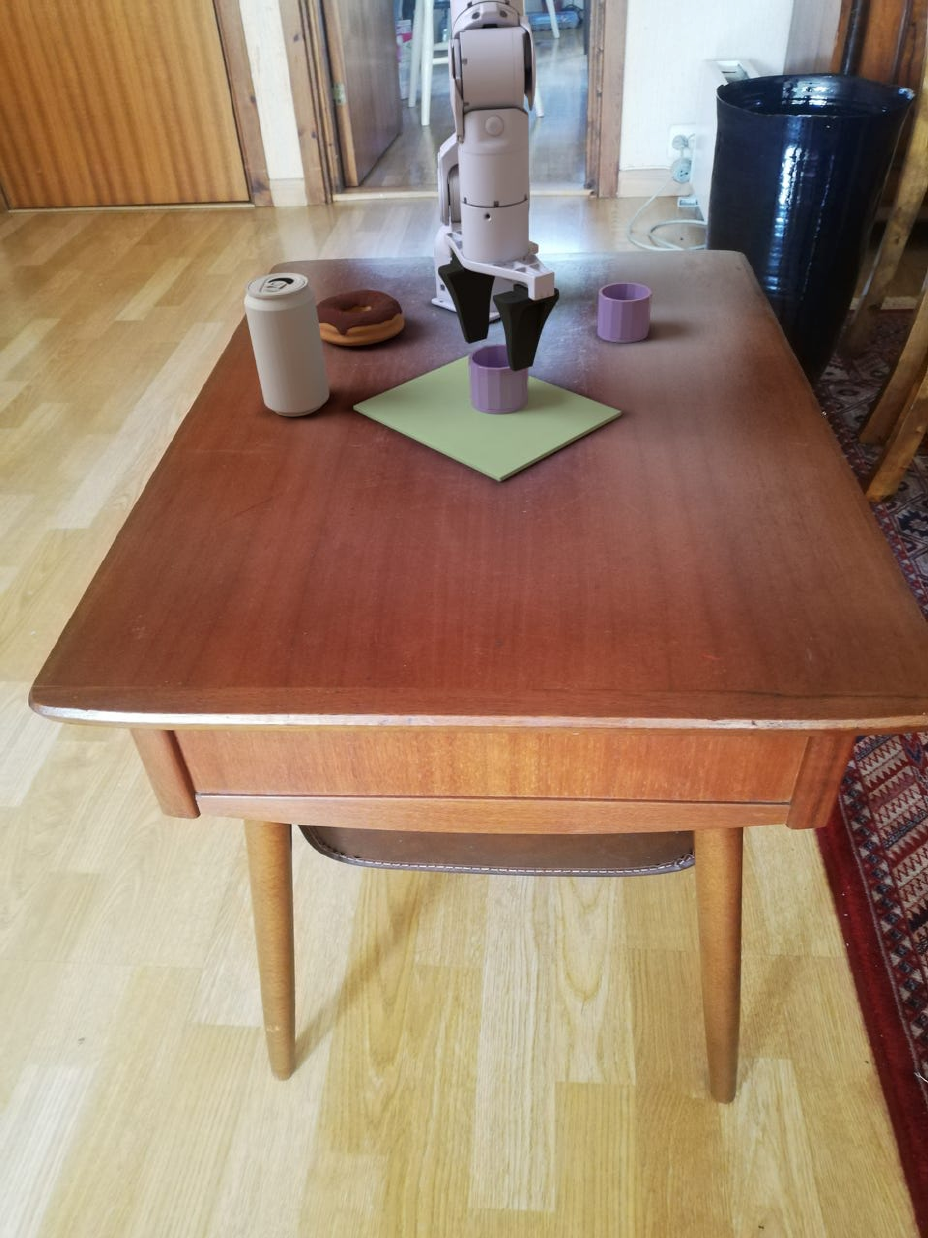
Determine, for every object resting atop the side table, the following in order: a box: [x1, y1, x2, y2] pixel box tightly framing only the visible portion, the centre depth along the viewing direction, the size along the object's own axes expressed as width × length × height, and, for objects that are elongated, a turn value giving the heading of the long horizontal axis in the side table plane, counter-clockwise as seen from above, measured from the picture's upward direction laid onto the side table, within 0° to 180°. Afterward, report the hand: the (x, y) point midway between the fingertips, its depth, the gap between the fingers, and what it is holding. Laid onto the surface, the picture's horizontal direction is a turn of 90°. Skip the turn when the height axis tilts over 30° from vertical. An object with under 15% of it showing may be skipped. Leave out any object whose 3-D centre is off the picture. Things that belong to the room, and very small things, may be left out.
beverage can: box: [243, 272, 330, 417], centre depth 87 cm, size 6×6×12 cm
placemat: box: [352, 354, 622, 483], centre depth 88 cm, size 20×16×1 cm
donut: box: [316, 289, 405, 347], centre depth 102 cm, size 10×10×4 cm
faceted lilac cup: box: [596, 282, 653, 344], centre depth 99 cm, size 6×6×4 cm
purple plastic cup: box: [468, 343, 529, 414], centre depth 87 cm, size 6×6×4 cm
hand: (498, 353), depth 85 cm, fingers open, 7 cm apart
